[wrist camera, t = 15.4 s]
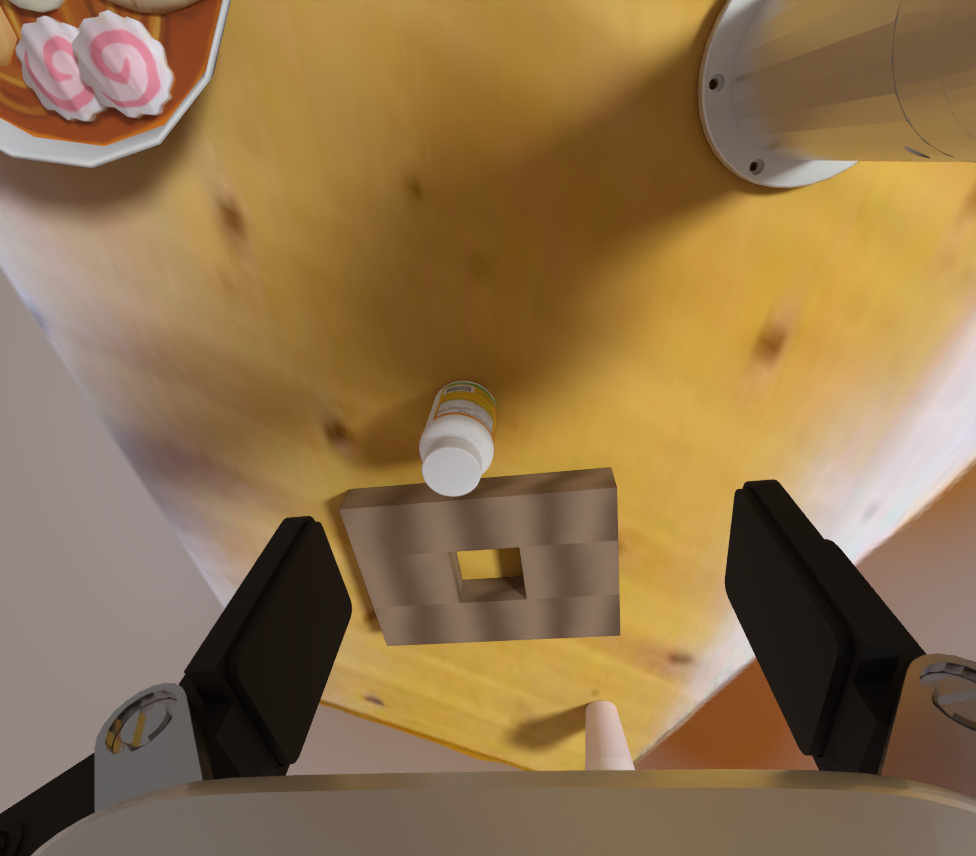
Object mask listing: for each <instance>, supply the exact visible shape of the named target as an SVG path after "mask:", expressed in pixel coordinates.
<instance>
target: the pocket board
mask: <svg viewBox="0 0 976 856" xmlns="http://www.w3.org/2000/svg"><path fill="white" fill-rule="evenodd" d="M339 511H340V514H341V517H342V520H343V523H344V525H345V528H346V531H347V534H348V537H349V540H350V542H351V545H352V548H353V551H354V554H355V557H356V559H357V562H358V565H359V568H360V571H361V573H362V576H363V579H364V582H365V585H366V588H367V590H368V593H369V596H370V599H371V602H372V605H373V607H374V610H375V613H376V616H377V619H378V622H379V624H380V627H381V630H382V633H383V636H384V639H385V641H386V644H387V646H398V645H420V644H442V643H464V642H486V641H508V640H531V639H553V638H575V637H597V636H619V635H620V604H619V558H618V513H617V486H616V483H615V479H614V476H613V472H612V469H611V468H599V469H588V470H576V471H564V472H552V473H540V474H528V475H517V476H505V477H493V478H481V479H480V481H479V483H478V485H477V486H476V487H475V488H474V489H473V490H472V491H470V492H469V493H467V494H464V495H461V496H445V495H442V494H439V493H437V492H435V491H434V490H432V489H431V488H430V487H429V486H428V485H427V483H422V484H410V485H398V486H386V487H375V488H363V489H351V490H349V491H348V493H347V495H346V497H345V499H344V501H343V503H342V505H341V507H340V509H339ZM516 547H519V549H520V556H521V563H522V569H523V577H507V578H490V579H473V580H462V575H461V571H460V567H459V562H458V558H457V553H456V551H471V550H486V549H501V548H516Z"/></svg>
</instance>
